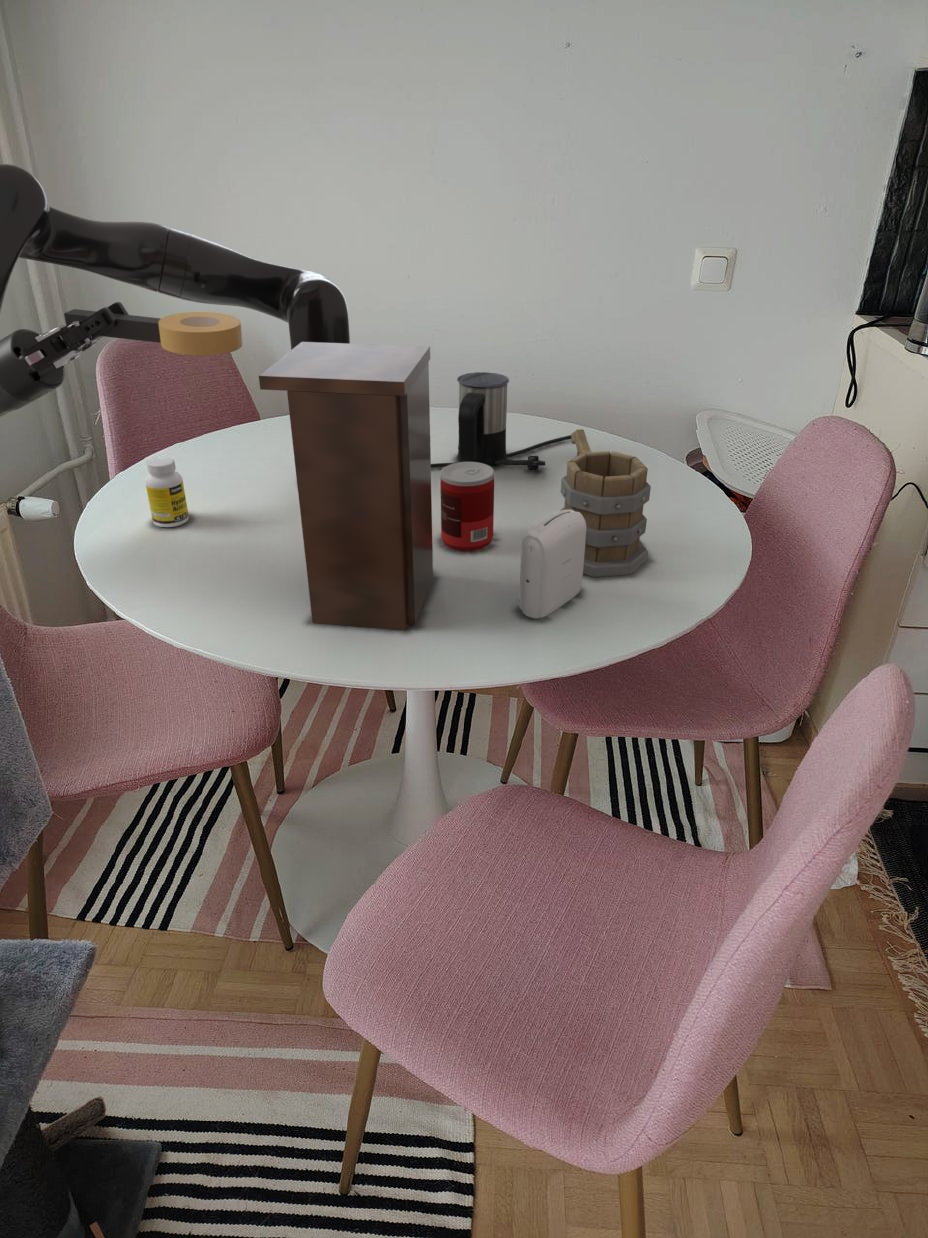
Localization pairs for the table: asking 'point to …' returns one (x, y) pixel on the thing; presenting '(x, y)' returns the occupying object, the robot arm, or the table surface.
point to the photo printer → (552, 563)
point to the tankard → (608, 507)
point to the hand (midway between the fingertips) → (117, 312)
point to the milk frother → (485, 421)
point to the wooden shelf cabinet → (361, 477)
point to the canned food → (467, 505)
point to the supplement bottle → (166, 493)
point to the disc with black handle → (176, 331)
